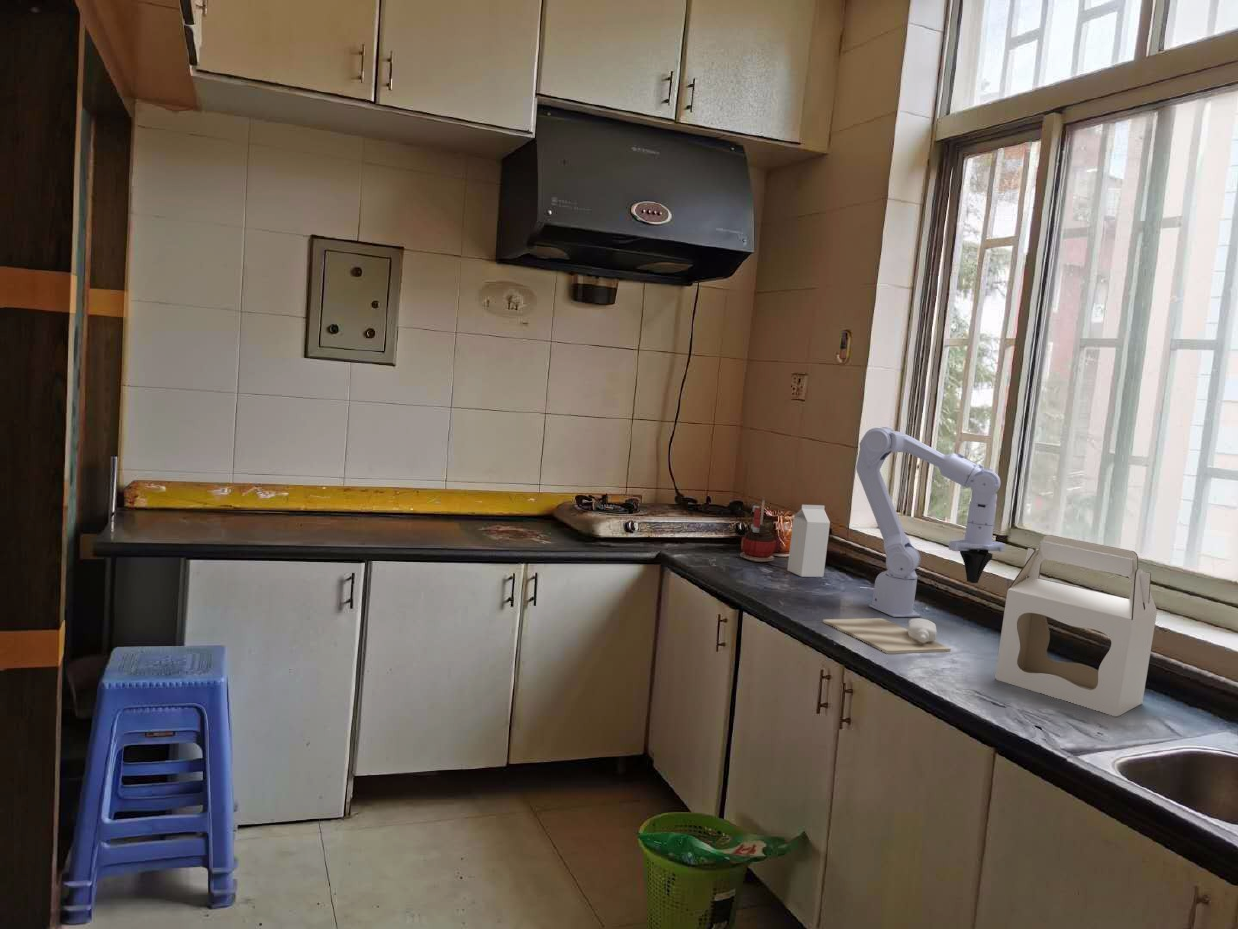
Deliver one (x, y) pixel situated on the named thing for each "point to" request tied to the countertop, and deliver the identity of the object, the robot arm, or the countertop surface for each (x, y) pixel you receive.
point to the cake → (758, 539)
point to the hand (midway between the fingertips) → (972, 582)
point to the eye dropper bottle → (922, 630)
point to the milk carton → (809, 541)
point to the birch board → (884, 635)
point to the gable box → (1084, 608)
